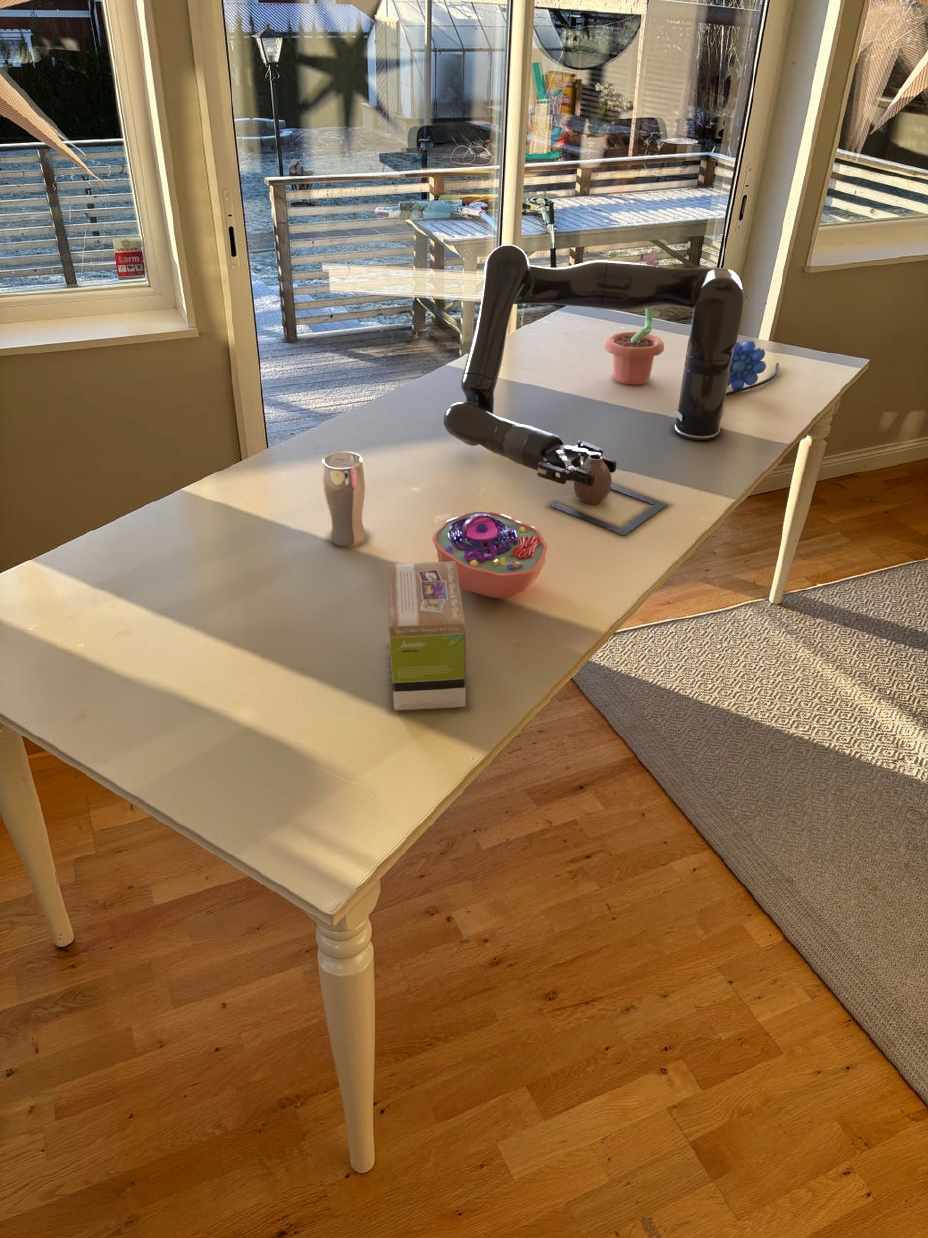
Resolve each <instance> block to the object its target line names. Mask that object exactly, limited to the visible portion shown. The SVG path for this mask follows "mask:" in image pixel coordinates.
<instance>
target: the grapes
mask: <svg viewBox="0 0 928 1238" xmlns="http://www.w3.org/2000/svg"><path fill="white" fill-rule="evenodd" d="M765 356H766V351H765V349H764V348H762V347H757V348H756V344H755V342H754V341H752V340H746V341H745V342H743V344H741V343H740V342H738V341H737V342H736V345H735V347H734V352H733V357H732V362H731V368H730V374H729V379H728V385H727V387H729V386H730V387H731V389H732V391H734V390H737V389H740V388H743V387H745V385H746V386H751V385H754V384H757V383H758V380H759V375H760V374H761V373H764V371H765V370H766V368H767V364H766V362H765V361H764V360H763V359H764V358H765Z"/></svg>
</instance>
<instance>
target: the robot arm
mask: <svg viewBox="0 0 928 1238" xmlns="http://www.w3.org/2000/svg"><path fill="white" fill-rule="evenodd" d="M514 305H561V306H567V307H568V306H569V307H577V308H588V309H595V310H604V311H614V312H615V311H617V312H630V311H631V312H633V311H634V310H636V311H639V310H645V309H646V308H652V307H653V308H657V307H667V306H668V307H680V308H687V309H693V314H692V318H691V326H690V331H689V332H690V334H689V337H688V340H687V346H686V353H685V360H684V366H683V373H682V380H681V386H680V392H679V399H678V406H677V408H675V409H674V415H675V416H676V417H675V418H676V420H675V423H674V429H673V430H674V433H676V434H677V435H678V436H680V437H681V438H684V439H688V440H691V441H700V442H701V441H711V440H714V439H716V438H718V437H719V435H720V430H721V429H720V427H721V423H722V417H723V412H724V405H725V400H726V397H728V396H731V395H735V394H738V393H740V392H743V391H748V390H750V389H751V390H752V389H754V388H757V387H760V386H762V385H764V384H767V383H769V382H770V381H772V380H773V379H774V378H776V376H777V375H778V373H779V368H780V363H779V362H776V364H775V371H774V373H772V375H771V376H769V377H768V378H766V379H764V380H762V381H759V382H756V383H755V384H753V385H746V386H744V387H743V388H740V389H737V390H732V391H727V389H728V386H727V385H728V379H729V374H730V368H731V362H732V357H733V352H734V347H735V345H736V342H738V337H739V332H740V327H741V322H742V317H743V311H744V306H745V292H744V288H743V283H742V280H741V279H740V277H739V276H738V275H737V274H736V272H734V271H733V270H730V269H728V268H725V267H700V268H698V267H697V268H673V267H672V268H671V267H665V266H659V265H658V266H652V265H645V263H642V264H639V263H635V262H634V263H633V262H626V261H615V260H592V261H586V262H582V263H578V264H574V265H570V266H565V267H543V266H535V265H530V260H529V259H528V256H527V255H526V253H525V252H524V251H523V249H521V248H519V247H518V246H516V245H514V244H503V245H500V246H498V247H496V248H495V249H494V250H492V252H491V253H490V254H489V255H488V256H487V259H486V261H485V264H484V275H483V287H482V296H481V302H480V308H479V312H478V317H477V321H476V325H475V329H474V333H473V336H472V340H471V344H470V347H469V351H468V354H467V358H466V360H465V365H464V369H463V371H462V372H463V373H462V375H461V380H460V390H461V391H462V392H463V394H464V396H465V402H464V401H459V402H455V403H453V404H451V405H450V406H449V407H447V408H446V410H445V411H444V414H443V425H444V428H445V430H446V431H447V433H448V434H450V435H451V436H452V437H454V438H456V439H458V440H459V441H461V442H462V443H464V444H465V445H467V446H471V447H476V446H479V445H480V446H481V447H483V448H484V449H486V450H488V451H490V452H492V453H493V454H496V455H498V456H501V457H504V458H507V459H508V460H510V461H512V462H513V463H515V464H518V465H521V466H523V467H526V468H527V469H531V470H533V471H537V477H539V478H543V479H544V480H548V481H551V482H554V483H558V484H561V485H566V483H567V482H570V483H574V481H576V482H579V483H581V484H584V485H587V486H592V485H593V484H594V475H593V474H591V473H588V472H586V471H583V470H580V469H578V468H579V467H580V466H581V465H582V464H583V463H584V462H585V461H586V460H587V458H588V457H589V455H591V454H598V455H600V456H601V457H602V459H603V462H604V463H605V464H606V466H607V467H608V469H609V471H610V474H614V473H615V472H616V471H617V461H616V460H614V459H610V458H609V457H605V456H604V455H603V454H604V449H603V448H602V447H598V446H596V445H594V444H591V443H588V442H586V441H584V440H577V442H576V445H574V446H573V445H567V444H564V442H563V441H562V439H561V437H560V436H559V435H557V434H554V433H553V432H552V433H551V432H549V431H546V430H544V429H540V428H538V427H535V426H532V425H528V424H523V423H519V422H516V421H514V420H511V419H507V418H504V417H500V416H497V415H495V414H494V405H495V389H496V386H497V382H498V379H499V375H500V373H501V372H500V371H501V368H502V363H503V359H504V352H505V346H506V339H507V333H508V327H509V322H510V317H511V313H512V310H513V307H514ZM581 457H582V461H581ZM576 468H577V469H576ZM557 474H558V475H559V476H557Z"/></svg>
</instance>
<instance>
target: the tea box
mask: <svg viewBox="0 0 928 1238" xmlns="http://www.w3.org/2000/svg"><path fill="white" fill-rule="evenodd" d="M387 604H388V605H387V607H388V608H387V609H388V611H387V612H388V635H389V636H388V637H389V652H390V666H391V670H390V671H391V683H392V685H391V686H392V695H393V696H392V697H393V699H392V700H393V708H394V710H395V711H397V712H398V711H415V710H433V709H436V710H437V709H451V708H452V709H453V708H463V707H465V706H466V621H465V614H464V607H463V601H462V594H461V589H460V586H459V579H458V572H457V566H456V562H455V561H449V562H439V561H433V562H418V563H417V562H416V563H395V564H390V563H388V564H387Z"/></svg>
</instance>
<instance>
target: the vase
mask: <svg viewBox="0 0 928 1238" xmlns="http://www.w3.org/2000/svg"><path fill="white" fill-rule="evenodd" d="M577 469H580V470H583V471H586V472H588V473H591V474H593V475H594V484H593V485H592V486H587V485H584V484H581V483H579V482H576V481H574V482H573V489H574V493H575V495H576V497H577V498H578V499H579V500H580V501H581V502H583V503H584V504H587V505H596V504H600V503H601V502H603V501H604V500H606V498H607V497H608V496H609V494H610V491H611V489H610V488H611V484H612V482H613V481H612V480H613V479H612V473H611V472H610V471H609V469H608V467H607V466H606V464H605V463H604V462H603V459H602V457H601V456H600V455H598V454H591V455H589V457H588V458H587V460H586V461H585V462H584V463H583V464H582V465H581V466H580V467H579V468H578V467H577Z"/></svg>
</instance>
